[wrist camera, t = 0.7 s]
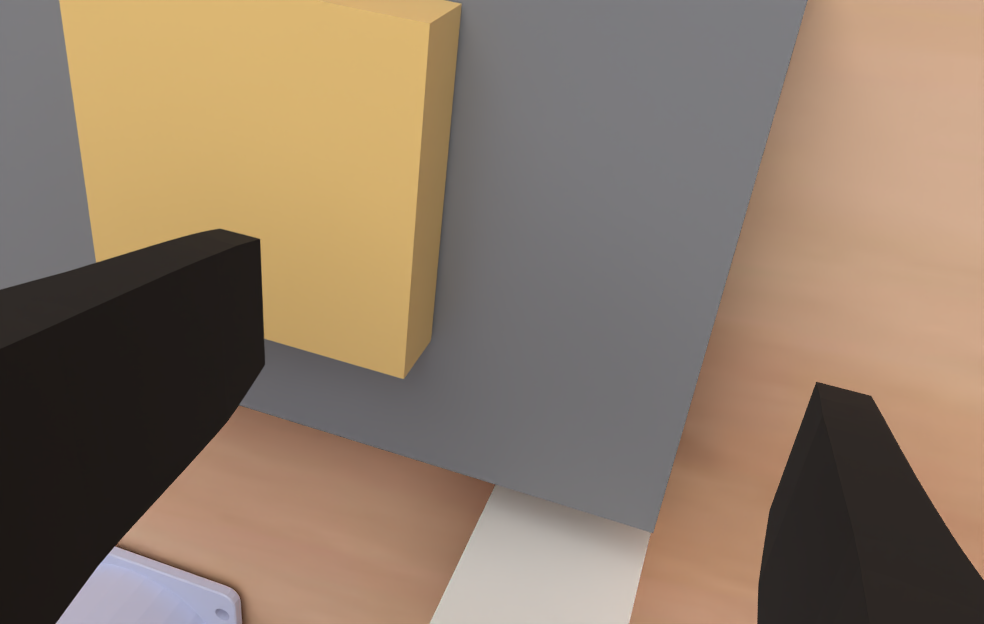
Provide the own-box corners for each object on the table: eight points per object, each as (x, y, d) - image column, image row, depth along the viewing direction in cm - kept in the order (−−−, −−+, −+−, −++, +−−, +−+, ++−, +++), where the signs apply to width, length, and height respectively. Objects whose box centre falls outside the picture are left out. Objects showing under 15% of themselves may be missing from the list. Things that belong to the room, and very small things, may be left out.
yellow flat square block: (431, 340, 19) (403, 379, 18) (143, 260, 21) (99, 290, 20) (461, 3, 16) (429, 23, 14) (108, -67, 17) (51, -54, 16)
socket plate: (669, 462, 22) (652, 533, 20) (43, 279, 26) (-25, 323, 24) (818, -57, 16) (816, -32, 14) (-43, -204, 19) (-147, -201, 17)
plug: (627, 610, 25) (577, 813, 20) (490, 565, 26) (410, 750, 21) (657, 505, 23) (609, 704, 18) (506, 460, 24) (422, 638, 19)
